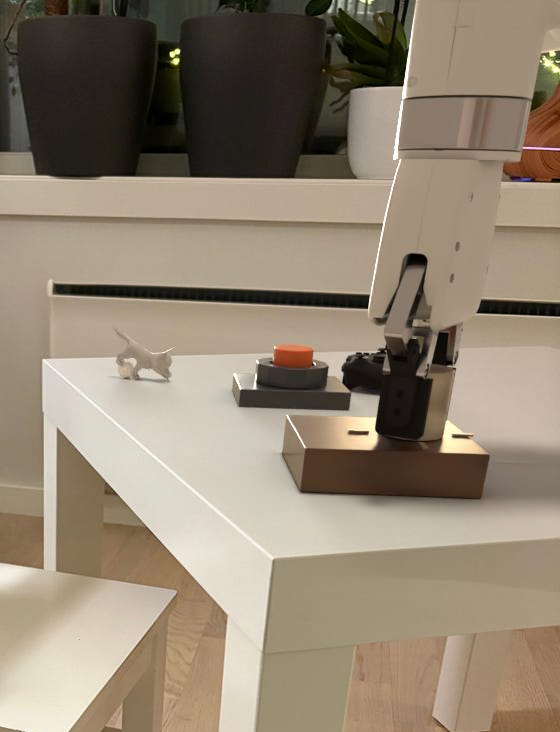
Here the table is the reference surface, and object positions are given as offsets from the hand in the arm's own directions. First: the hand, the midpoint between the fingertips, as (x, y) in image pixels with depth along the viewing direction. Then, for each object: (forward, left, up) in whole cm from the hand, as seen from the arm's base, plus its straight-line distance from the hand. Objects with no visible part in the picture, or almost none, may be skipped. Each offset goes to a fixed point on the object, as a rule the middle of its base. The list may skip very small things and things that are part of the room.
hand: (411, 426), depth 68 cm
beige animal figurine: (+19, -33, -4) cm, 38 cm away
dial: (0, 0, 0) cm, 0 cm away
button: (+5, -25, 0) cm, 25 cm away
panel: (+2, 0, -4) cm, 4 cm away
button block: (+5, -25, -4) cm, 26 cm away
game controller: (-5, -33, -4) cm, 34 cm away
